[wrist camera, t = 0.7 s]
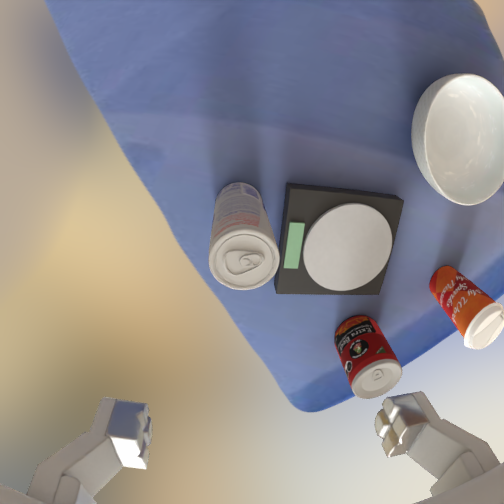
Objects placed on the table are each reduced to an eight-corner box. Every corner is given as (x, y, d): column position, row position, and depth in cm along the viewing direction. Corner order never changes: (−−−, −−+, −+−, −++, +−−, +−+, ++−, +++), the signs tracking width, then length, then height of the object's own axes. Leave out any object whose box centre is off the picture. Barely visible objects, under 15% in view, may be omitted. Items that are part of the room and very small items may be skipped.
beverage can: (205, 204, 38) (192, 263, 24) (238, 171, 36) (243, 213, 23) (239, 234, 40) (244, 304, 26) (271, 203, 38) (294, 260, 25)
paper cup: (446, 251, 43) (499, 299, 31) (465, 273, 46) (513, 320, 33) (415, 288, 46) (460, 343, 33) (437, 306, 48) (478, 359, 36)
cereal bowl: (416, 209, 40) (444, 228, 34) (375, 96, 33) (403, 96, 27) (493, 164, 37) (524, 176, 31) (464, 61, 30) (497, 60, 24)
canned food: (364, 305, 46) (392, 353, 36) (383, 332, 49) (409, 378, 39) (323, 332, 48) (342, 384, 38) (346, 357, 51) (365, 405, 41)
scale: (286, 183, 37) (291, 189, 35) (395, 195, 39) (406, 202, 36) (274, 284, 43) (276, 296, 41) (372, 286, 45) (380, 297, 42)
